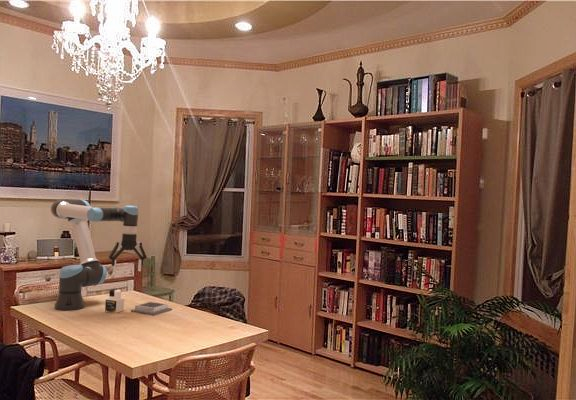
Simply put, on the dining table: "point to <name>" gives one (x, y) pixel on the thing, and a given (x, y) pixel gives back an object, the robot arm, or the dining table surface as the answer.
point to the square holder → (151, 308)
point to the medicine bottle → (114, 302)
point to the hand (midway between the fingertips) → (126, 271)
